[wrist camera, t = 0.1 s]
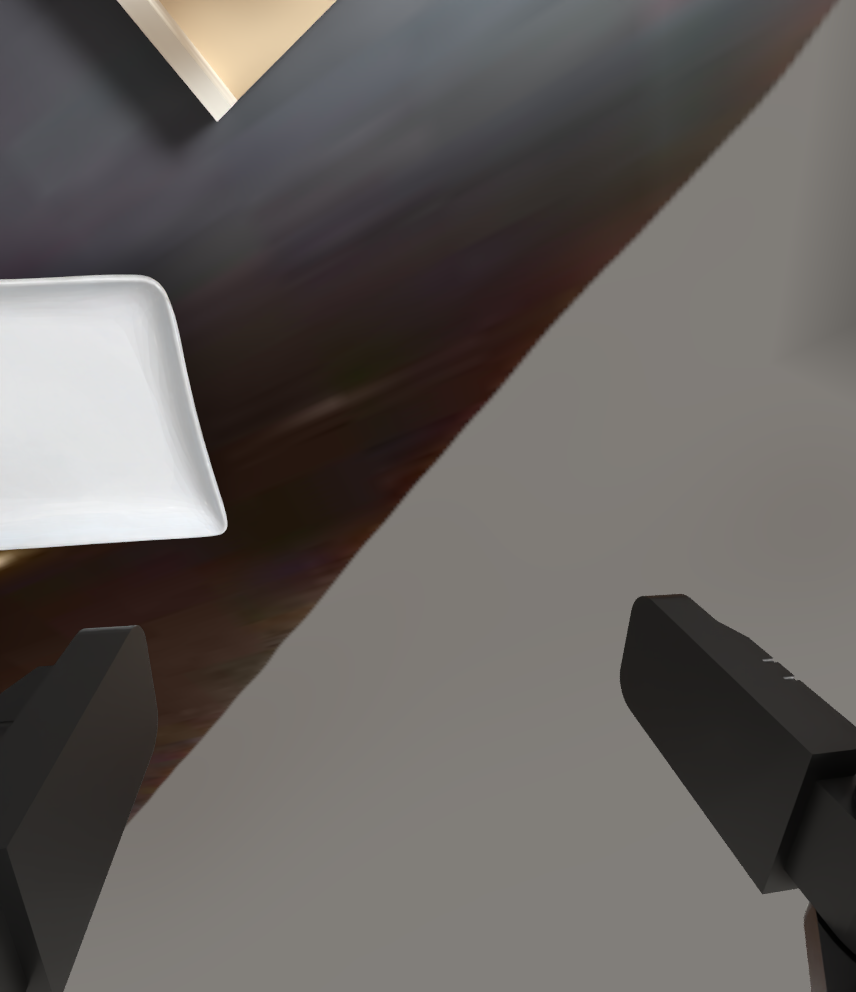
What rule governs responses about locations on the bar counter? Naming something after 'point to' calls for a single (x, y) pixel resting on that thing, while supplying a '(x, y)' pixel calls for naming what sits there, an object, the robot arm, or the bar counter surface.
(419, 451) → the bar counter surface
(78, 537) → the salad plate
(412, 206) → the bar counter surface
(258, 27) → the shelf board
